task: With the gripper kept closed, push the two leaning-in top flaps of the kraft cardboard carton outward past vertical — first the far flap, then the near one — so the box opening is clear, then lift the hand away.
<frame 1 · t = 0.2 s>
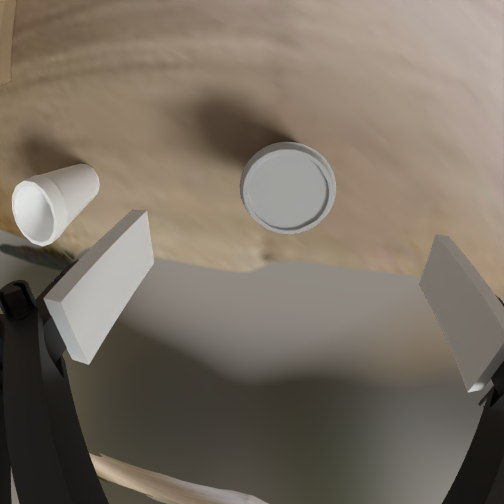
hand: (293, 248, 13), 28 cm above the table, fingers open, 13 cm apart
foam cup: (85, 181, 43), on the table
disposable coffee cup: (288, 164, 39), on the table
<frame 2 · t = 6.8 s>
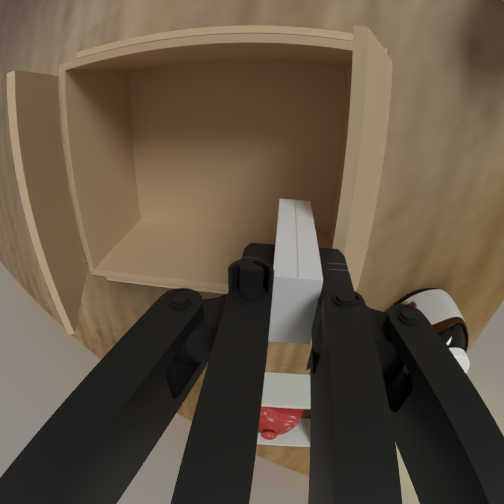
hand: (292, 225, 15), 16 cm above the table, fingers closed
dish caddy: (275, 398, 48), on the table
spread jar: (413, 320, 37), on the table
carton: (231, 144, 28), on the table
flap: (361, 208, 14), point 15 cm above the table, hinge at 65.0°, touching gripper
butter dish: (272, 396, 49), resting in dish caddy
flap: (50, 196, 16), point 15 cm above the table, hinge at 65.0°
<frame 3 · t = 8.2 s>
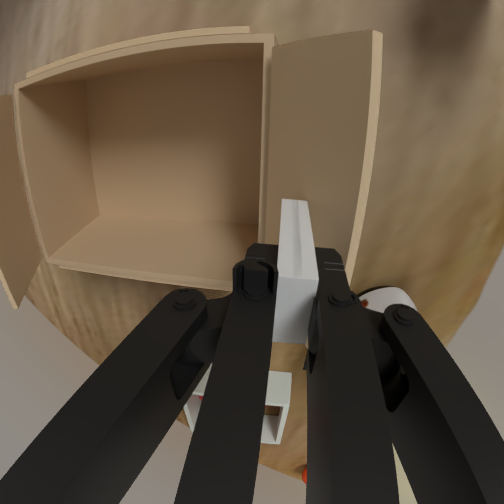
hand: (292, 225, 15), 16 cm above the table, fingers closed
dish caddy: (239, 393, 49), on the table
spread jar: (373, 319, 37), on the table
carton: (171, 143, 29), on the table
clementine: (315, 463, 65), on the table
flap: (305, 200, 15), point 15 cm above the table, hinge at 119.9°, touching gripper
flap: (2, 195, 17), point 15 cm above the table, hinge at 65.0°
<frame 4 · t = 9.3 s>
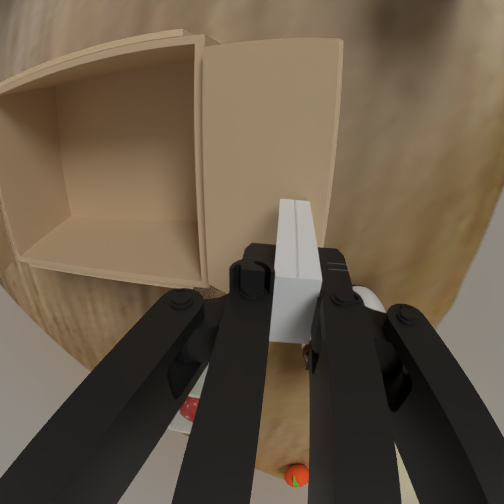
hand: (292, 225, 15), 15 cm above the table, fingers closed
dish caddy: (213, 391, 49), on the table
spread jar: (341, 319, 38), on the table
carton: (133, 145, 29), on the table
clementine: (297, 463, 65), on the table
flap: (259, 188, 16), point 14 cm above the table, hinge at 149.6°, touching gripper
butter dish: (211, 389, 49), resting in dish caddy
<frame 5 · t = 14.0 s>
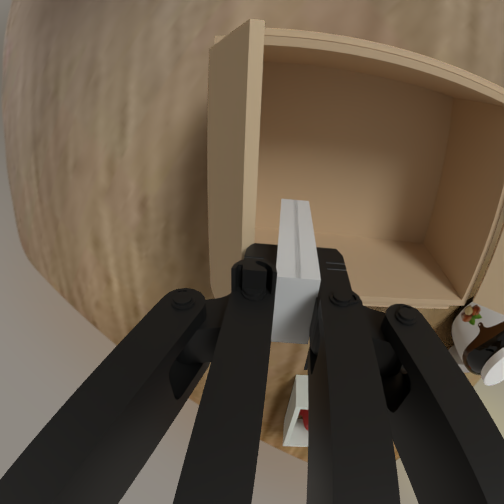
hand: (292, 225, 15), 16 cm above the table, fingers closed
dish caddy: (335, 401, 48), on the table
spread jar: (469, 321, 37), on the table
carton: (349, 155, 27), on the table
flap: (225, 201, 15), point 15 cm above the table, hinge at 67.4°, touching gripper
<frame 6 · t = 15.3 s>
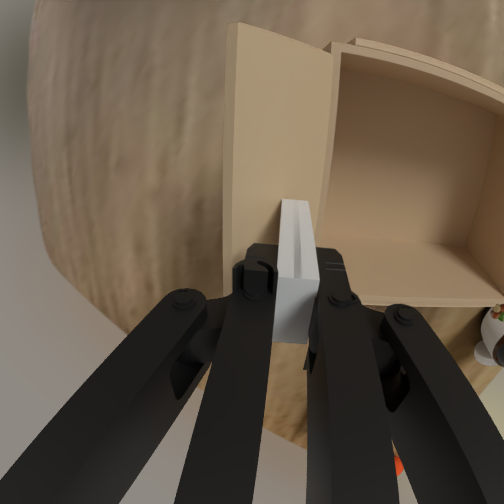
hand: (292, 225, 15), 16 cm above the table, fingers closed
spread jar: (494, 318, 37), on the table
carton: (408, 164, 27), on the table
clementine: (391, 456, 64), on the table
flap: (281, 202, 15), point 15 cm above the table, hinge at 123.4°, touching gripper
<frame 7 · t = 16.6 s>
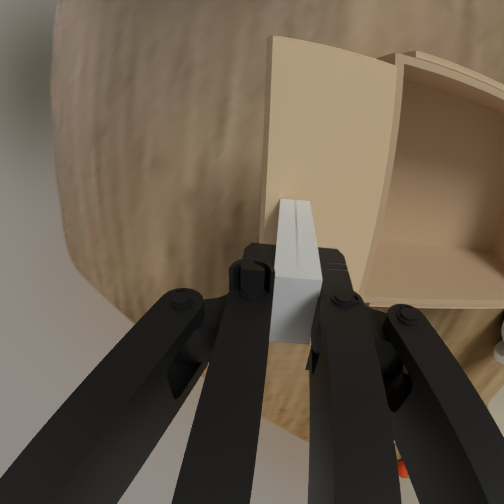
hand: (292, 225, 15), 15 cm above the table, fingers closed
carton: (443, 171, 26), on the table
clementine: (406, 456, 63), on the table
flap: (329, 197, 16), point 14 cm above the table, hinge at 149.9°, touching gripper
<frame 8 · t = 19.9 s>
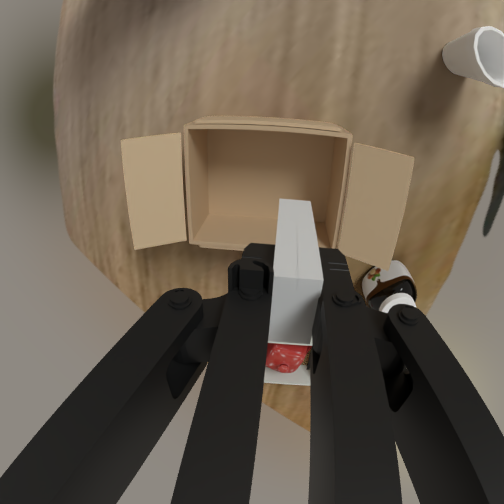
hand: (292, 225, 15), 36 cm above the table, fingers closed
dish caddy: (288, 345, 70), on the table
spread jar: (382, 283, 59), on the table
foam cup: (455, 58, 35), on the table
carton: (269, 171, 50), on the table
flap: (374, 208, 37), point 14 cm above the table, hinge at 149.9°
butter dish: (284, 343, 70), resting in dish caddy
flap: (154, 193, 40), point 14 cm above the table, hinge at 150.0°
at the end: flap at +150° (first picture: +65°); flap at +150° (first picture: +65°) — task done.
